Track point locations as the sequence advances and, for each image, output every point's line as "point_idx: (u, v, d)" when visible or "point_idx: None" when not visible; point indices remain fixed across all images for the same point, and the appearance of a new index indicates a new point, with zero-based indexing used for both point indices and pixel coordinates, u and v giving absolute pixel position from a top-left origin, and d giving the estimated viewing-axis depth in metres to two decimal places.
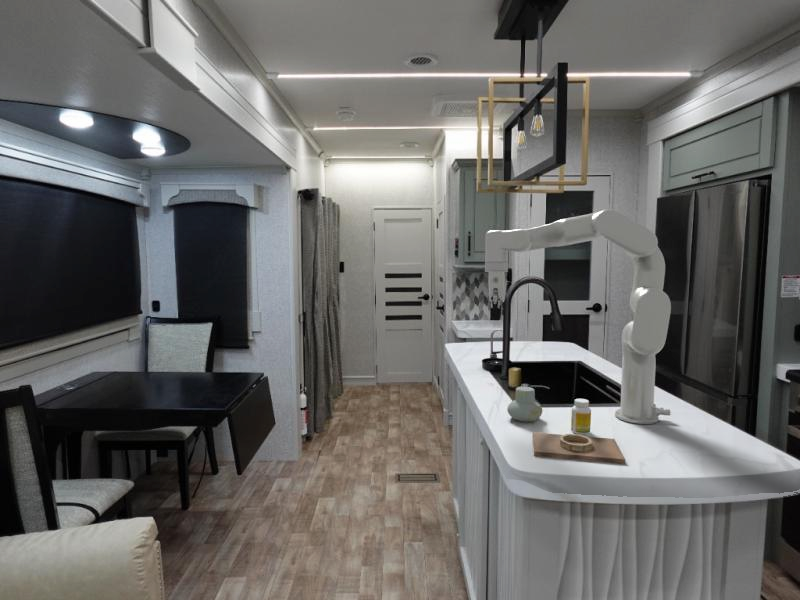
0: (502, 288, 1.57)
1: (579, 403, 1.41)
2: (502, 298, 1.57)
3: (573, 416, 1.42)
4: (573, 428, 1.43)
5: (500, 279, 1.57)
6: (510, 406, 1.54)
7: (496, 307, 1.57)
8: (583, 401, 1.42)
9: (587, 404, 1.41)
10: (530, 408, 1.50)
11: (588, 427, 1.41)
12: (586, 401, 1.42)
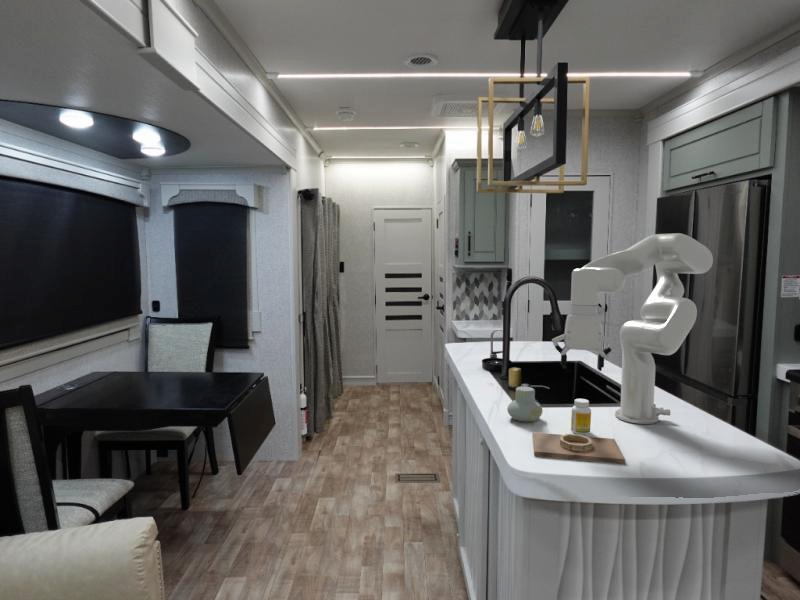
0: None
1: (579, 403, 1.41)
2: None
3: (573, 416, 1.42)
4: (573, 428, 1.43)
5: None
6: (510, 406, 1.54)
7: None
8: (583, 401, 1.42)
9: (587, 404, 1.41)
10: (530, 408, 1.50)
11: (588, 427, 1.41)
12: (586, 401, 1.42)
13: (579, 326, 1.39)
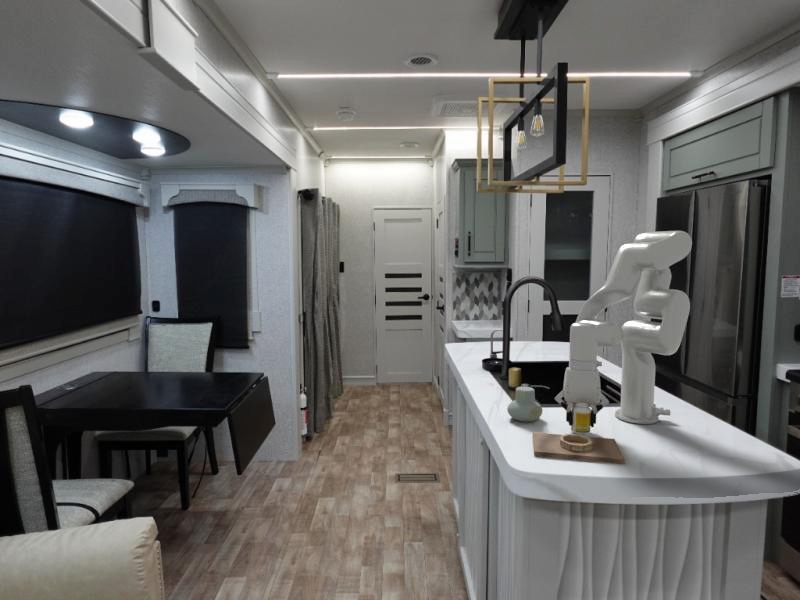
0: None
1: (579, 403, 1.41)
2: None
3: (573, 416, 1.42)
4: (573, 428, 1.43)
5: None
6: (510, 406, 1.54)
7: None
8: None
9: (587, 404, 1.41)
10: (530, 408, 1.50)
11: (588, 427, 1.41)
12: None
13: (578, 381, 1.40)
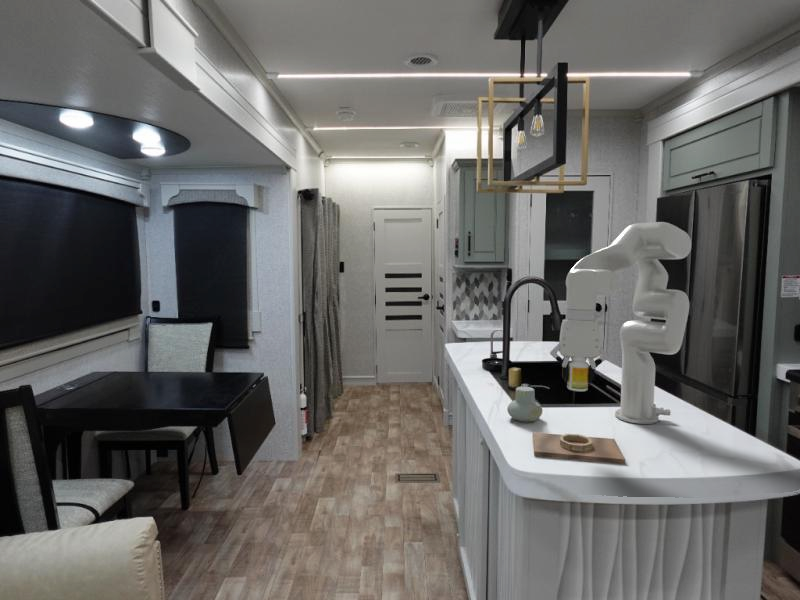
0: None
1: (576, 357, 1.30)
2: None
3: (569, 371, 1.31)
4: (569, 384, 1.31)
5: None
6: (510, 406, 1.54)
7: None
8: None
9: (585, 358, 1.30)
10: (530, 408, 1.50)
11: (585, 383, 1.30)
12: None
13: (575, 332, 1.29)
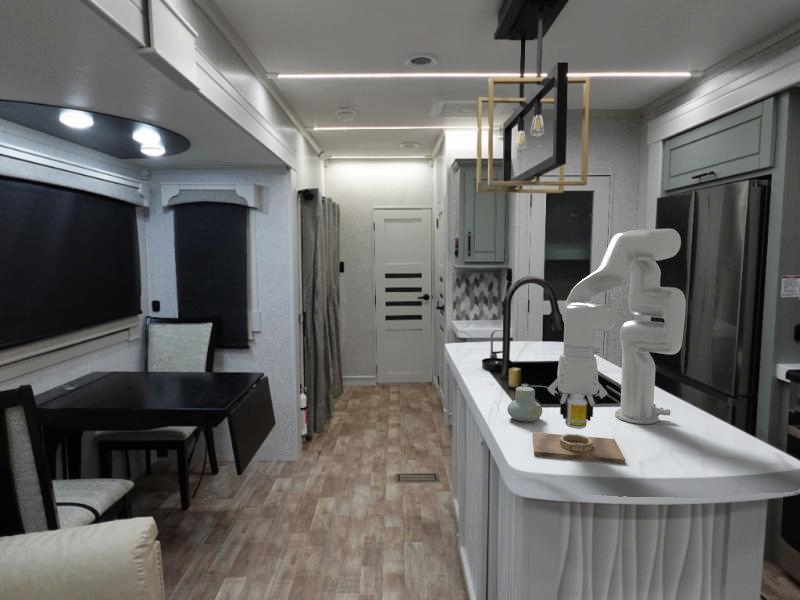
0: None
1: (574, 394, 1.28)
2: None
3: (568, 408, 1.29)
4: (567, 421, 1.29)
5: None
6: (510, 406, 1.54)
7: None
8: None
9: (583, 395, 1.28)
10: (530, 408, 1.50)
11: (584, 420, 1.28)
12: None
13: (573, 369, 1.27)
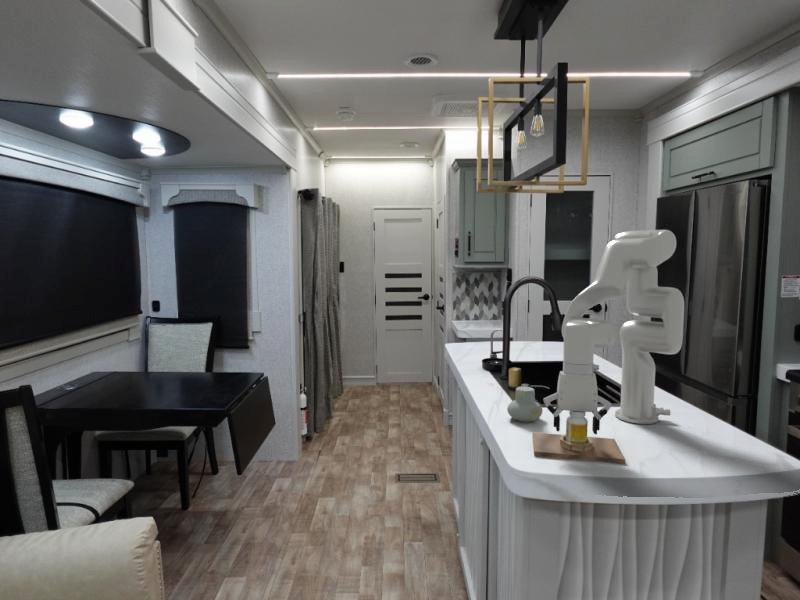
0: None
1: (574, 413, 1.28)
2: None
3: (568, 427, 1.30)
4: (567, 440, 1.30)
5: None
6: (510, 406, 1.54)
7: None
8: (579, 411, 1.29)
9: (583, 414, 1.28)
10: (530, 408, 1.50)
11: (584, 440, 1.28)
12: None
13: (573, 386, 1.27)
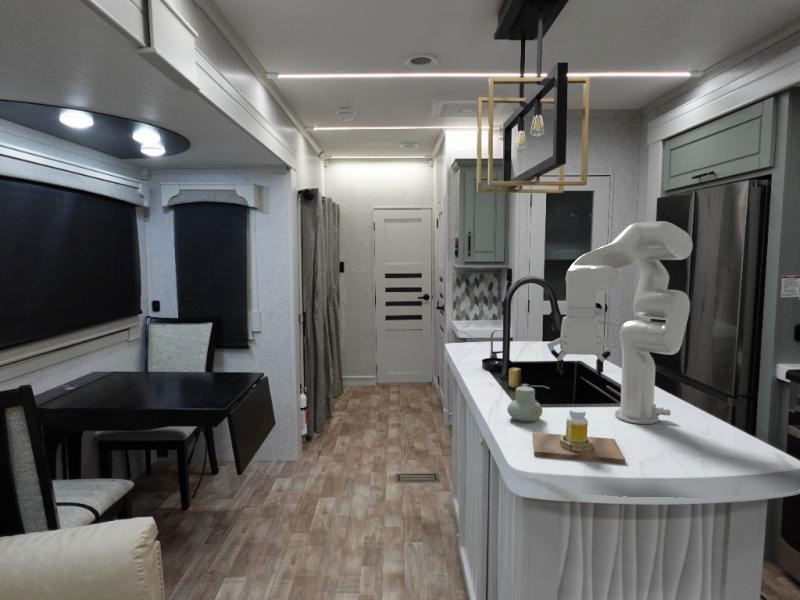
0: None
1: (574, 413, 1.28)
2: None
3: (568, 427, 1.30)
4: (567, 440, 1.30)
5: None
6: (510, 406, 1.54)
7: None
8: (579, 411, 1.29)
9: (583, 414, 1.28)
10: (530, 408, 1.50)
11: (584, 440, 1.28)
12: (582, 411, 1.29)
13: (576, 330, 1.30)
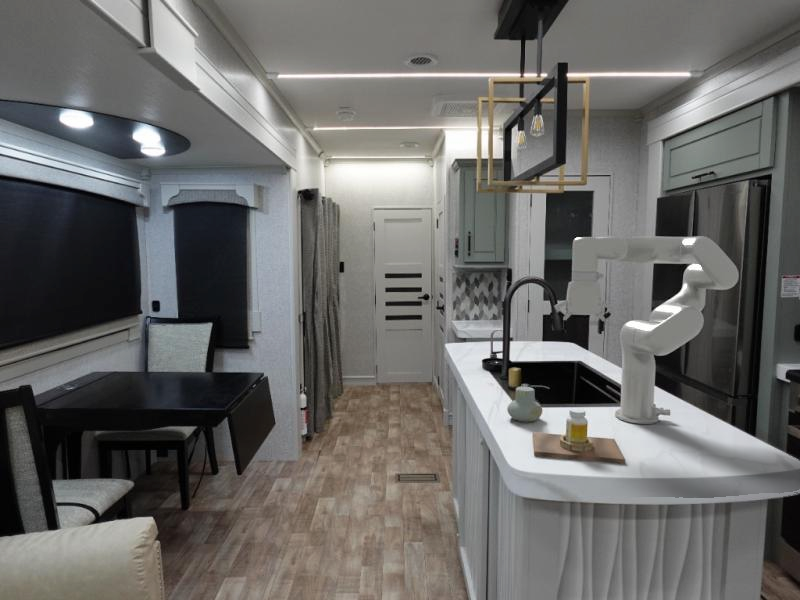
0: None
1: (574, 413, 1.28)
2: None
3: (568, 427, 1.30)
4: (567, 440, 1.30)
5: None
6: (510, 406, 1.54)
7: None
8: (579, 411, 1.29)
9: (583, 414, 1.28)
10: (530, 408, 1.50)
11: (584, 440, 1.28)
12: (582, 411, 1.29)
13: (580, 292, 1.46)
